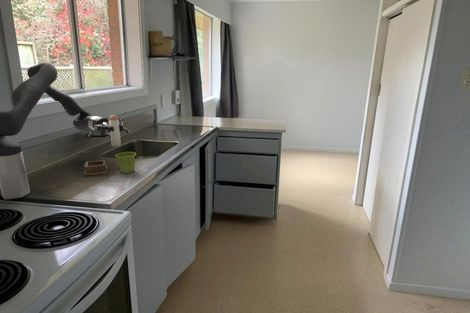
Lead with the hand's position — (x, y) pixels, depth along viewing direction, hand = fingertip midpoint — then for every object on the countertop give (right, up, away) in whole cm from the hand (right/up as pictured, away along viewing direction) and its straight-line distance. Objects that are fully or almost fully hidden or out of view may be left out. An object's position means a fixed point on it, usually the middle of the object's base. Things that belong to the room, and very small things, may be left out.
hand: (117, 128), depth 154 cm
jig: (-10, -21, 0) cm, 23 cm away
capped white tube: (-2, -8, +4) cm, 9 cm away
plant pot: (+5, -21, -1) cm, 22 cm away
